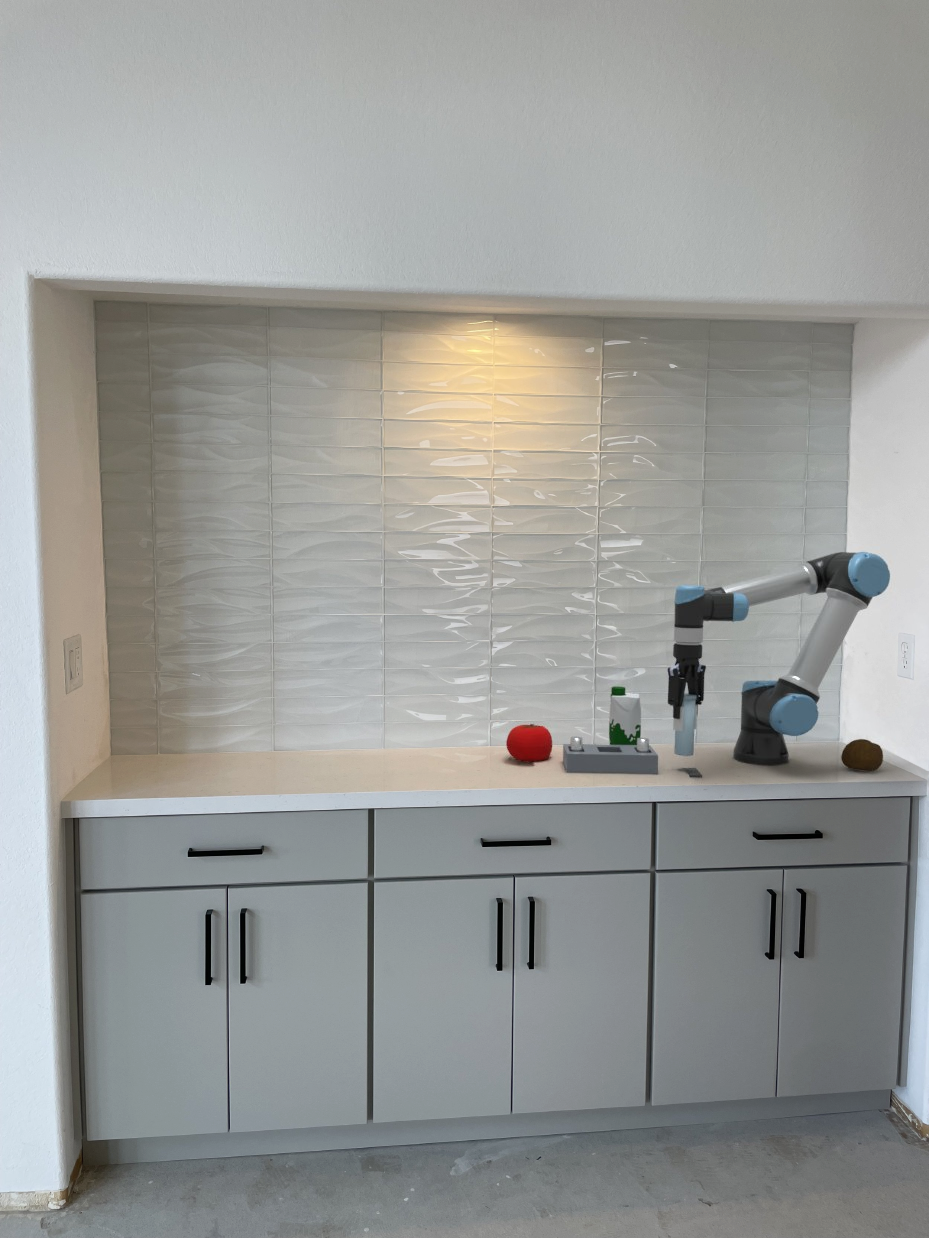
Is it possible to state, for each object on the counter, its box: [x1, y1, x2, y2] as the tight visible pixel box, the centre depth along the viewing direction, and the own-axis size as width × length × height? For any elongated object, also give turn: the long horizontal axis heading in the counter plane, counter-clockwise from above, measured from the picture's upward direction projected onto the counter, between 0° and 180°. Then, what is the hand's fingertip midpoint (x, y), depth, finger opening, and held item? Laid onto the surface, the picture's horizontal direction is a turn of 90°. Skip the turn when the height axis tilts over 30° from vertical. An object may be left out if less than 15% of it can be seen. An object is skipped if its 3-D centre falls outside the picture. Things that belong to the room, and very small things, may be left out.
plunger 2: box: [637, 737, 650, 753], centre depth 243 cm, size 3×3×7 cm
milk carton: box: [608, 686, 642, 745], centre depth 262 cm, size 9×9×20 cm
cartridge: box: [673, 692, 696, 757], centre depth 242 cm, size 5×5×16 cm
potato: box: [840, 738, 884, 772], centre depth 248 cm, size 8×12×9 cm
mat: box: [682, 767, 703, 779], centre depth 243 cm, size 8×8×1 cm
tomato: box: [505, 723, 553, 763], centre depth 255 cm, size 14×13×10 cm
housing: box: [562, 743, 659, 775], centre depth 244 cm, size 24×12×6 cm, turn 89°
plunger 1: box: [569, 736, 583, 752], centre depth 244 cm, size 3×3×7 cm
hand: (684, 729), depth 242 cm, fingers closed on cartridge, 5 cm apart
